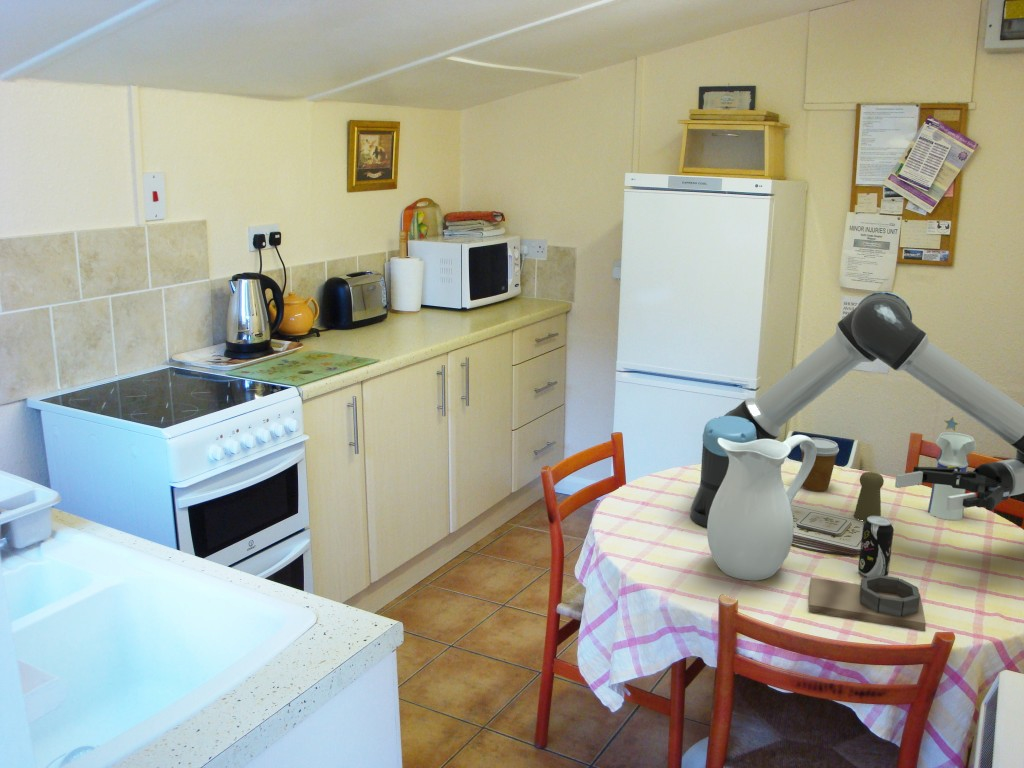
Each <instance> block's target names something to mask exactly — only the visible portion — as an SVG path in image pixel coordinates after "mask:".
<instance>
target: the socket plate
mask: <svg viewBox="0 0 1024 768" xmlns="http://www.w3.org/2000/svg"><path fill="white" fill-rule="evenodd" d="M809 581H810V582H809V593H808V594H809V597H808V598H809V599H808V613H814V614H820V615H824V616H825V615H827V616H831V617H832V616H833V617H839V618H844V619H851V620H858V621H862V622H870V623H875V624H880V625H881V624H882V625H888V626H893V627H899V628H907V629H913V630H919V631H925V630H926V626H927V625H926V624H927V623H926V617H925V611H924V608H923V602H922V597H921V593H920V592H919V591H920V589H919V587H918V586H917V585H914V584H912V583H910V582H908V581H906V580H904V579H902V578H899V577H895V576H894V577H892V576H888V575H887V576H881V575H878V576H877V575H875V576H871V577H864V578H861V580H860V584H856V583H851V582H844V581H839V580H833V579H832V580H830V579H825V578H819V577H810V580H809Z"/></svg>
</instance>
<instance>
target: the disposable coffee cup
mask: <svg viewBox="0 0 1024 768" xmlns="http://www.w3.org/2000/svg"><path fill="white" fill-rule="evenodd" d="M809 438H810V439H812V440H813V441H814V443H815V445H816V450H817V453H816V459H815V462H814V465H813V467H812V469H811V471H810V473H809V474H808V476H807V478H806V479H805V481H804V483H803V484H802V487H803V488H804V489H806V490H808V491H813V492H826V491H828V490H829V487H830V483H831V478H832V474H833V471H834V467H835V463H836V459H837V455H838V453H839V451H840V449H839V445H838V443H837V442H836V441H834V440H831V439H827V438H824V437H823V438H822V437H809ZM799 448H800V450H801V463H802V462H803V459H804V453H805V447H804V444H803V443H802V444H799Z"/></svg>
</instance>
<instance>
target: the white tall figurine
mask: <svg viewBox="0 0 1024 768" xmlns="http://www.w3.org/2000/svg"><path fill="white" fill-rule="evenodd" d="M944 422H945V423H946V425H947V426H946V428H945V430H950V429H951V430H952V431H954V432H949V431H947V432H941V433H940V434H939V437H938V438H937V440H935V444H936V446H937V447H938V448H939V449H940V452H939V455H938V456H937V457H936V461H937V465H936V467H943V468H951V467H959V468H960V472H967V469H968V466H969V465H970V462H969V459H968V455H969V454H971V453H973V452H974V451H976V449H977V444H976V441H975V439H974V437H973V436H971V435H969V434H964V433H962V432H961V433H960V432H956V426H958V425H959V424H960V422H958V421H955V420H954V416H951V418H950V419H945V420H944ZM959 479H960V478H959ZM959 479H957V481H956V484H959ZM966 491H967V490H965V489H958V488H953V487H952V486H951V485H942V484H933V483H932V486H931V493H930V499H929V503H928V508H927V513H928V514H929V513H930V514H931V515H930V514H929V515H930V516H932V515H933V516H932V517H934V516H936V517H935V518H937V519H940V518H941V519H940V520H945V519H946V520H945V521H959V519H960V520H962V519H963V518H964V509H965V508H963V509H957V510H951V511H948V510H946V506H947V498H948V497H949V496H955V495H961V494H966V493H967V492H966Z"/></svg>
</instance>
